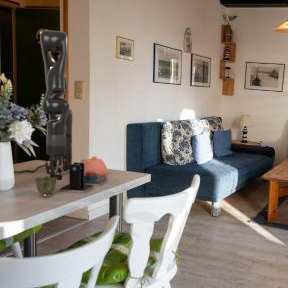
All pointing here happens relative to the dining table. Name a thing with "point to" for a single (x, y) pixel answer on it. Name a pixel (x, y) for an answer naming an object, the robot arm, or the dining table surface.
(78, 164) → the switch lever
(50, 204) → the dining table surface
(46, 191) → the cup
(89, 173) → the button
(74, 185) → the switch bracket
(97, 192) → the dining table surface
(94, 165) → the sugar bowl
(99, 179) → the control box
